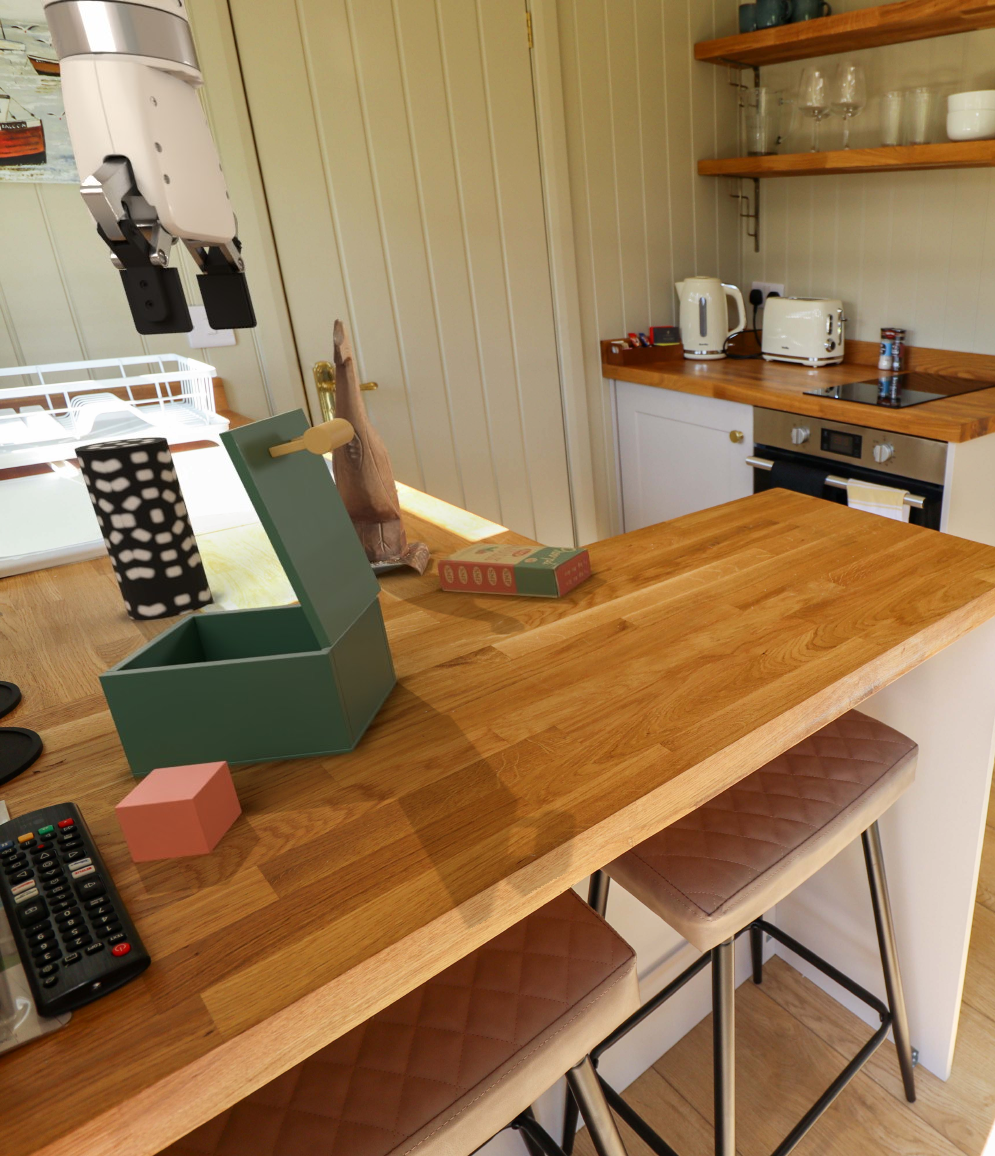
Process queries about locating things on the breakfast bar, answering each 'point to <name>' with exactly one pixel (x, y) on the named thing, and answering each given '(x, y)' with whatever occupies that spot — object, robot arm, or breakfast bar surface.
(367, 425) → the bird sculpture
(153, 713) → the chest
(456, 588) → the carton
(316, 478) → the chest lid
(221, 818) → the block
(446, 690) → the breakfast bar surface
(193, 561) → the white-spotted black cylinder
